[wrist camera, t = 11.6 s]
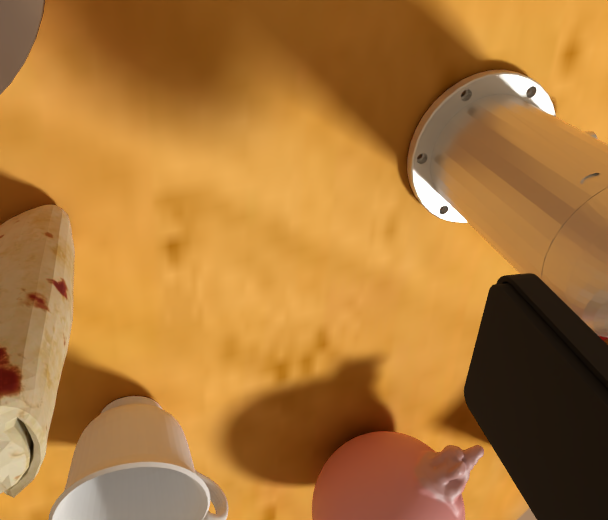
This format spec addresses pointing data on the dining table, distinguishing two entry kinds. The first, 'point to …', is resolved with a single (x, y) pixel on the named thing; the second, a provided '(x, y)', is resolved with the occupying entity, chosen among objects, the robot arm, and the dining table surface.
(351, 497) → the balloon
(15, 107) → the dining table surface
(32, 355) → the food model
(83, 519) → the teacup
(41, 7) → the lid
